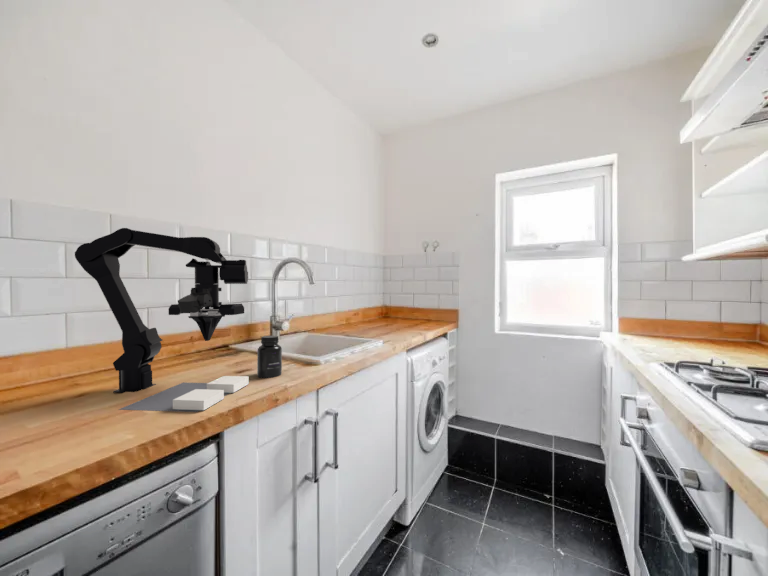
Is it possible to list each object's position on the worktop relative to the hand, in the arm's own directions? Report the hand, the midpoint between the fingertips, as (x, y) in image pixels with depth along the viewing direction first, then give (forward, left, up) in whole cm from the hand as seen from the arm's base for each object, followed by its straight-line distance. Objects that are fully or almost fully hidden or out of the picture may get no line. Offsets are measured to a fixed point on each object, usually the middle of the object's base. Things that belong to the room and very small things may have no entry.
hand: (207, 340), depth 87 cm
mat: (+3, -10, -12) cm, 16 cm away
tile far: (+6, -5, -10) cm, 13 cm away
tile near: (+6, -16, -10) cm, 20 cm away
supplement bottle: (+14, +8, -12) cm, 20 cm away
